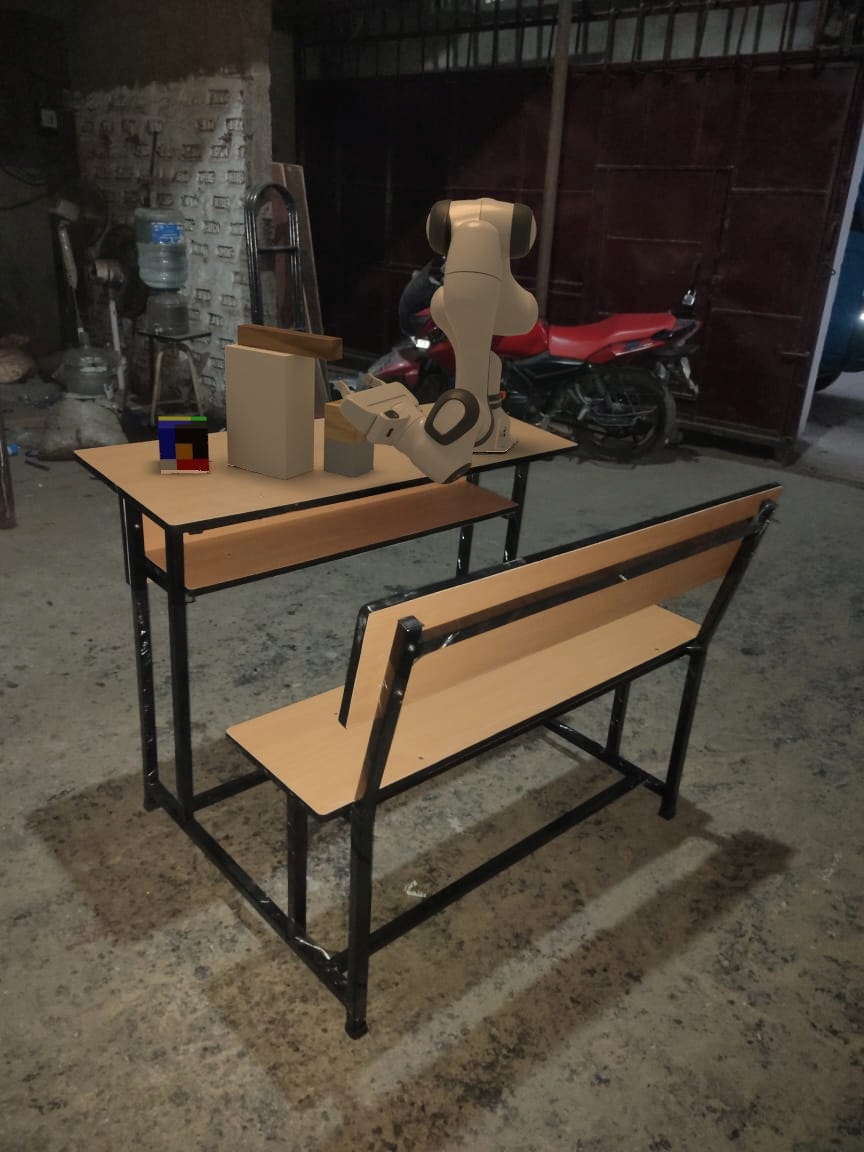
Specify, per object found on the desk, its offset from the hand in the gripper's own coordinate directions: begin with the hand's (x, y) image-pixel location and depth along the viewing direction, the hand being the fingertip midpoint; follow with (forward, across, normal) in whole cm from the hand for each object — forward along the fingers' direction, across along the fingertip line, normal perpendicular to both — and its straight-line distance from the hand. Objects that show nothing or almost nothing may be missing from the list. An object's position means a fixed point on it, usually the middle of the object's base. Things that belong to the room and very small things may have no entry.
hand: (352, 379), depth 173 cm
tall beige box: (+7, 0, +30) cm, 31 cm away
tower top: (-2, -10, +17) cm, 19 cm away
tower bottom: (-6, -10, +23) cm, 26 cm away
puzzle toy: (+19, +12, +37) cm, 44 cm away
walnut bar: (+15, 0, +5) cm, 16 cm away
